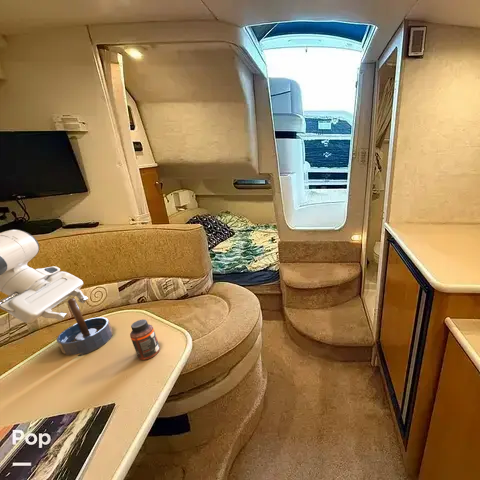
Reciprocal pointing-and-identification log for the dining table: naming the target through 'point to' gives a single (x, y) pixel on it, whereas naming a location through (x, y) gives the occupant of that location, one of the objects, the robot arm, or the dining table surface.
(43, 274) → the robot arm
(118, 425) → the dining table surface
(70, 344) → the ring
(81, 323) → the peg on round base
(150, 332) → the supplement bottle
